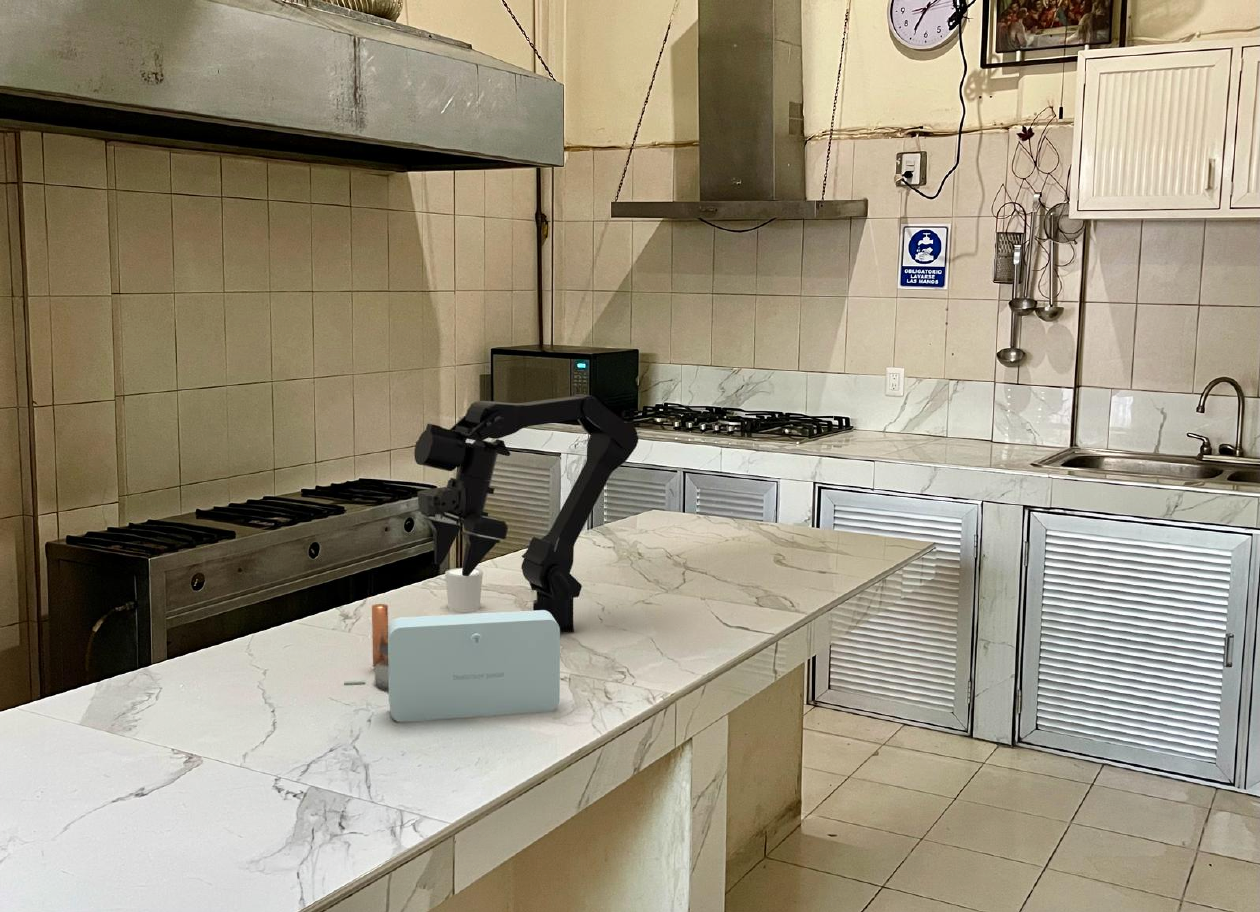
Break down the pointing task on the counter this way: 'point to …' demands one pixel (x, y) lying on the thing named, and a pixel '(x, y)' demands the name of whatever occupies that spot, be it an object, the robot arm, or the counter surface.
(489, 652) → the pale blue box
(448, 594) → the white cup
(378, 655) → the copper rod with bracket
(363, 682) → the pale green bar
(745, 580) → the counter surface
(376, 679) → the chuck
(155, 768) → the counter surface
